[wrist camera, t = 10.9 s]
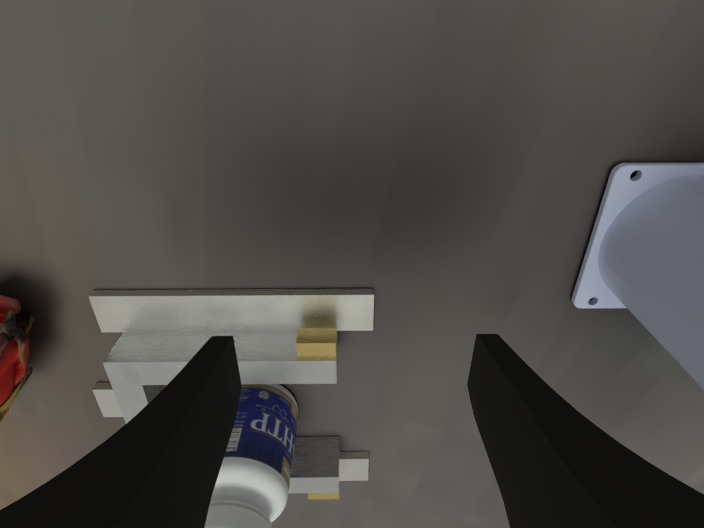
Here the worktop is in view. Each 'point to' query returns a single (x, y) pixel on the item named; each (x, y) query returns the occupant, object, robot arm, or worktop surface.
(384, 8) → the worktop surface
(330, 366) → the socket
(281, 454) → the pill bottle
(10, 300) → the dragon fruit
